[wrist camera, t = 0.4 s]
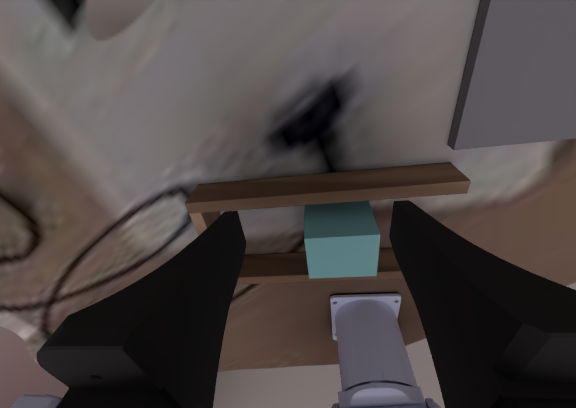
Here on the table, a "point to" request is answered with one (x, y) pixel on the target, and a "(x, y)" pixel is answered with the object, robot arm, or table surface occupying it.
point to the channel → (319, 191)
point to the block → (341, 240)
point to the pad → (518, 75)
